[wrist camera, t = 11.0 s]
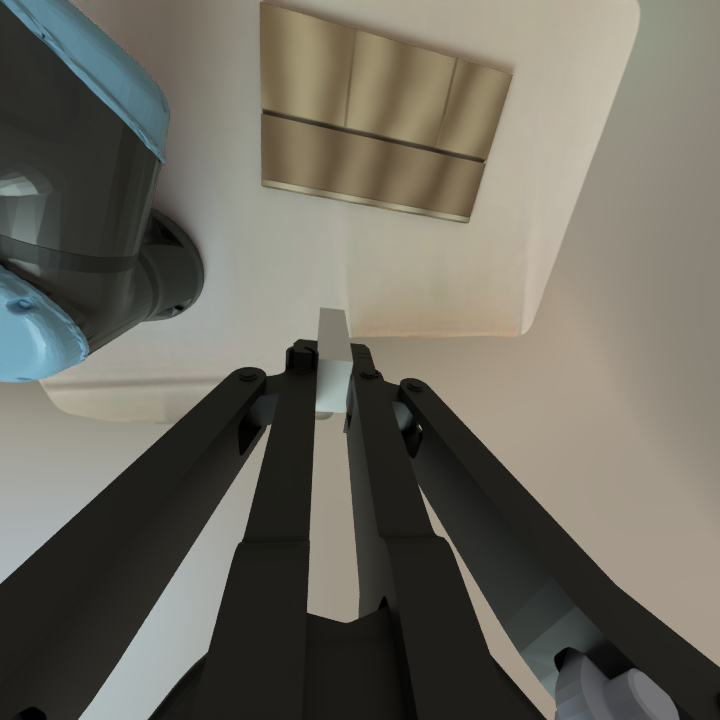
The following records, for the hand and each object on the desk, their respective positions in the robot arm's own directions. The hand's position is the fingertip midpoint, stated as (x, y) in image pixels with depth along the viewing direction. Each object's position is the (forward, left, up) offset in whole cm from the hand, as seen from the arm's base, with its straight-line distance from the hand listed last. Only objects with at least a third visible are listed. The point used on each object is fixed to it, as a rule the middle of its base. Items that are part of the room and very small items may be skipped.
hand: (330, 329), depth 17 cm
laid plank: (+5, +19, -26) cm, 33 cm away
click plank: (+5, +11, -26) cm, 29 cm away
